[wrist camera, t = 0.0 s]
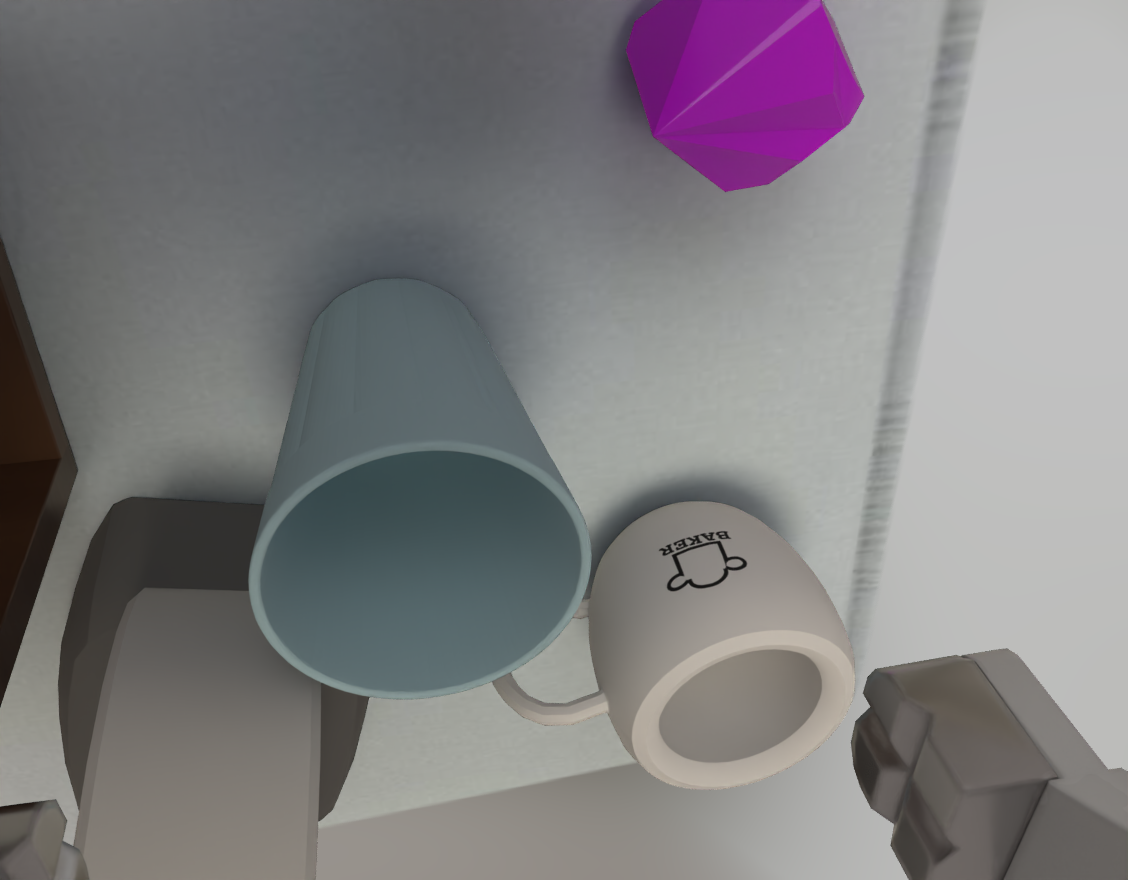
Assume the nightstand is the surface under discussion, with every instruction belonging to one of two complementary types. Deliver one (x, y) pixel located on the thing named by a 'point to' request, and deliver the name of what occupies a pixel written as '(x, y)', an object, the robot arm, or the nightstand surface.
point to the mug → (708, 650)
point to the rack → (25, 471)
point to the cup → (412, 507)
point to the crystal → (742, 84)
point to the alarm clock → (192, 707)
